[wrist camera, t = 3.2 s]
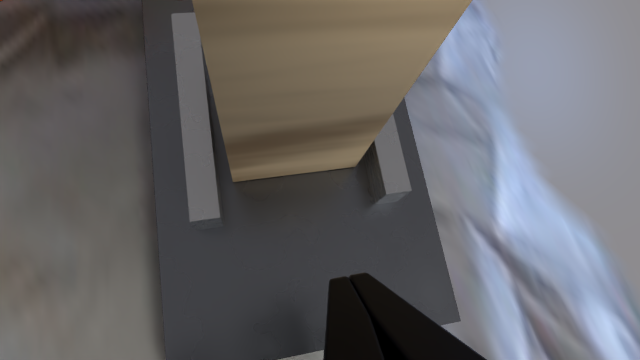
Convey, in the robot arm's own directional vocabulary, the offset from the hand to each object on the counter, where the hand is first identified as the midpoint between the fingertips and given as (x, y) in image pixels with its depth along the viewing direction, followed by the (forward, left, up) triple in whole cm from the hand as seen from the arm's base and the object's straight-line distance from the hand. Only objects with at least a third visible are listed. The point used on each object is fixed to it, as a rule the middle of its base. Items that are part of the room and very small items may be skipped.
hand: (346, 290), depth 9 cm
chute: (+8, -4, -11) cm, 14 cm away
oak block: (+8, -4, -10) cm, 13 cm away
